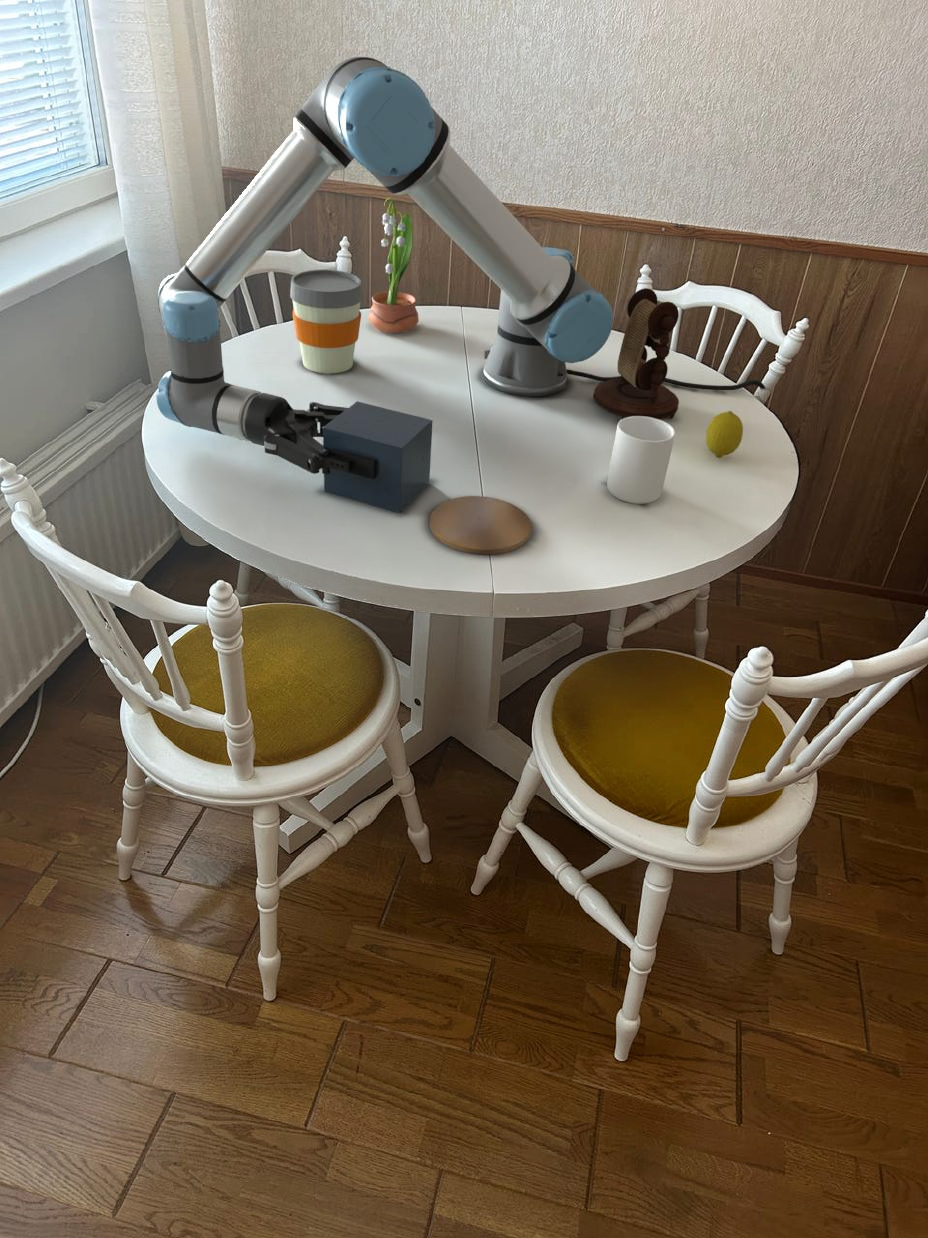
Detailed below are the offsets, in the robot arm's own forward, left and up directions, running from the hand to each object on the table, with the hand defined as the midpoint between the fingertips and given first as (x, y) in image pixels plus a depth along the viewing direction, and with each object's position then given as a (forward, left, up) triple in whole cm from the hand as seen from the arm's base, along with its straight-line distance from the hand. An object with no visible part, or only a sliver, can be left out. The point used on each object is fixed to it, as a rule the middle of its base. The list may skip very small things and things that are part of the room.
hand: (392, 453), depth 129 cm
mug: (-36, +5, -6) cm, 36 cm away
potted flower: (-16, -63, -6) cm, 66 cm away
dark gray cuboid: (+2, -1, -6) cm, 6 cm away
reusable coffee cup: (0, -47, -6) cm, 48 cm away
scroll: (-49, -20, -6) cm, 53 cm away
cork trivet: (-10, +12, -6) cm, 16 cm away
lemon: (-55, -1, -6) cm, 55 cm away
